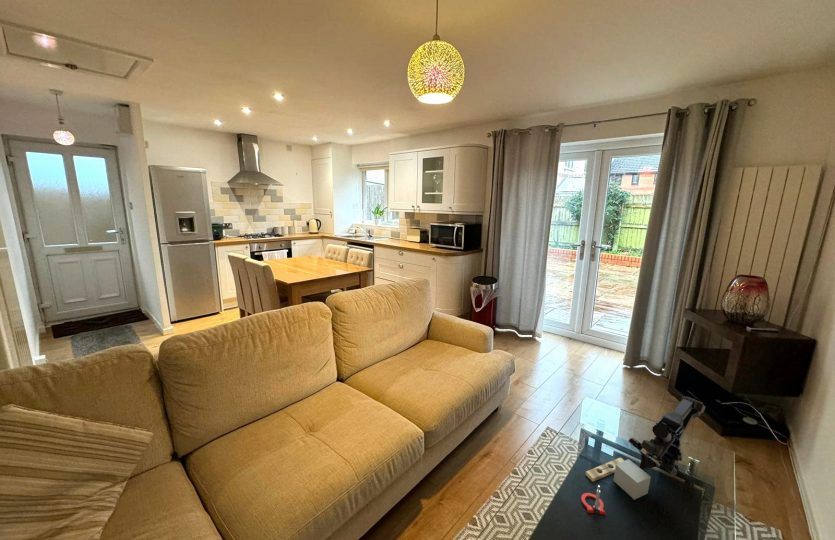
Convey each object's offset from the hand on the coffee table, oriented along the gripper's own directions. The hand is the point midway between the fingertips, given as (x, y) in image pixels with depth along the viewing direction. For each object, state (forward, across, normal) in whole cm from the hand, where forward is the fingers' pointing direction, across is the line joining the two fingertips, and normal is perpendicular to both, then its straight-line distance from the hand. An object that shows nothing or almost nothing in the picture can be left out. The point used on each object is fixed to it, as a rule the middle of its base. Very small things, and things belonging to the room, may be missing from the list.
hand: (640, 471), depth 144 cm
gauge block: (+8, 0, +2) cm, 8 cm away
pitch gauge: (+10, -10, 0) cm, 14 cm away
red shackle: (+24, 0, -14) cm, 28 cm away
